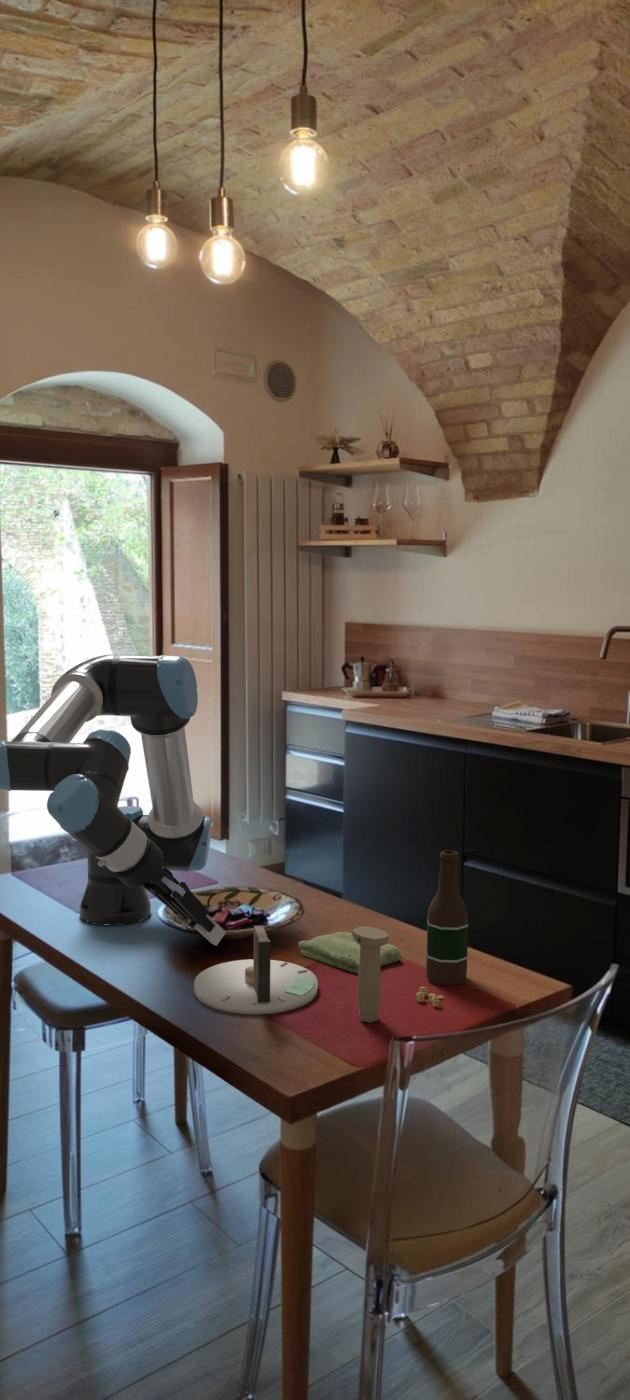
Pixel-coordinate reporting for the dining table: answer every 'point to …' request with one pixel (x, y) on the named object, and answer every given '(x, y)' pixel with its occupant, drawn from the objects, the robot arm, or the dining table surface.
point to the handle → (369, 971)
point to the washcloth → (343, 951)
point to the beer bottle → (447, 927)
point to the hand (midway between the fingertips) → (218, 937)
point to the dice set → (431, 997)
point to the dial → (236, 995)
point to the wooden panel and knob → (260, 965)
